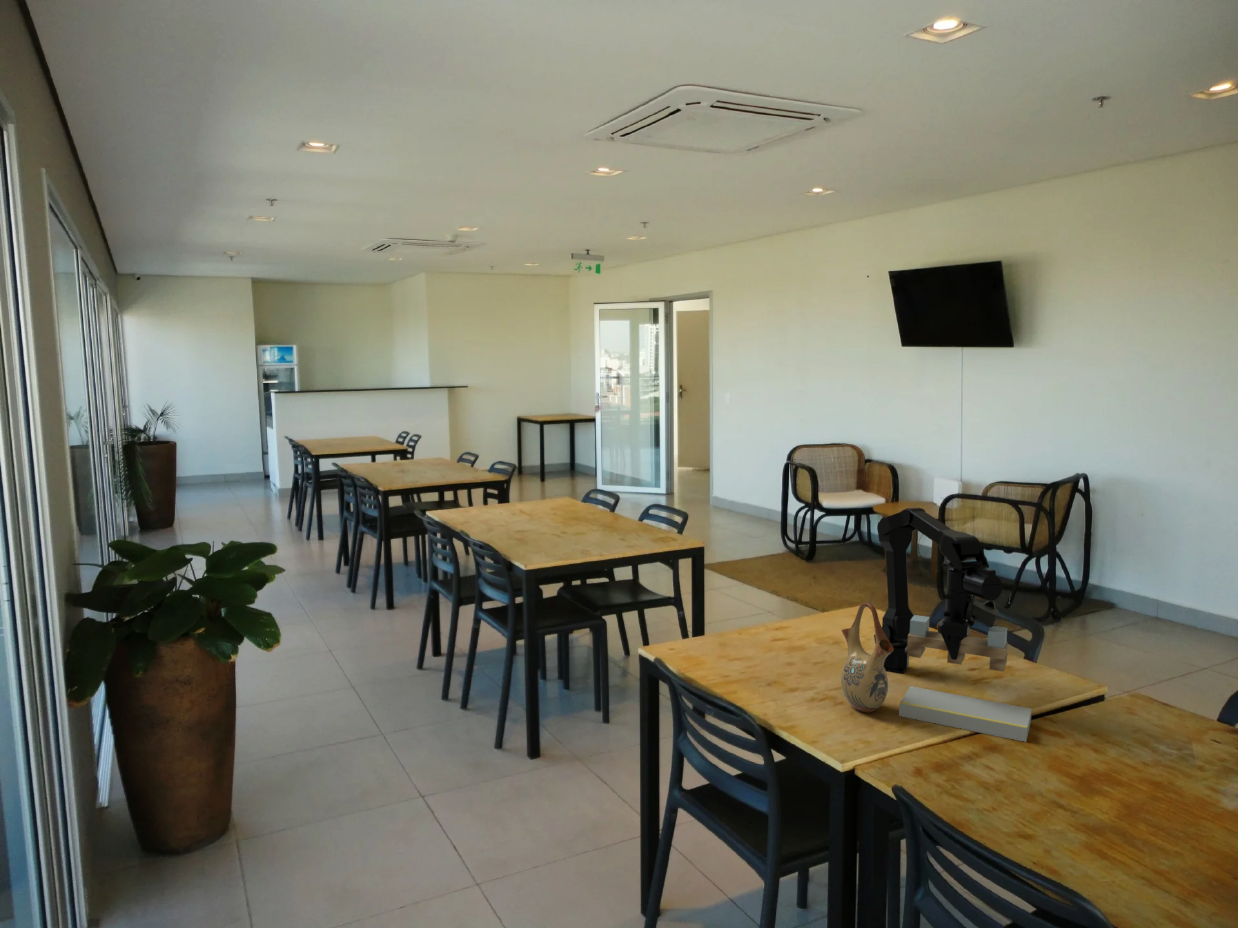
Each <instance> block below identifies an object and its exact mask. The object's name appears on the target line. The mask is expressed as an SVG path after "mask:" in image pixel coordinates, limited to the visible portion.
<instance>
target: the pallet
mask: <svg viewBox="0 0 1238 928" xmlns="http://www.w3.org/2000/svg"><path fill="white" fill-rule="evenodd" d="M987 644H988V638H983V637H981V638H980V637H977V636H976V637H975V636H969V635H968V636H967V637H966V638H964V639H962V641H961V645H960V649H959V653H958V657H957V660H953V659H951V656H950V654H949V651H948V649H947V646H946V644H945V642H944V639H943V637H942V635H941V634H940V633H938V631H935V630H929V632H928V633H927V635H926V636H925V637H922V636H915V635H910V633H909V634H908V644H907V656H909V657H910V658H911V657H912V658H918V659H921V657H922V656H923V655H924V654H925V651H926V648H929V649H934V650H942V651H947V659H946V660H947V661H946V662H947V663H949V664H955V665H961V666H962V664H963V661H964V659H965V658H966V654H967V655H974V656H980V657H985V658H986V657H987V658H989V667H988V668H989V670H991V671H999V672H1005V669H1006V665H1007V663H1008V661H1007V660H1008V647H1009V646H1008V644H1009V642H1008V641H1006V645H1005V648H1004V649H1001V648H995V647H988V646H987Z"/></svg>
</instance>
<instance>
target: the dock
mask: <svg viewBox="0 0 1238 928" xmlns="http://www.w3.org/2000/svg"><path fill="white" fill-rule="evenodd" d="M1032 709H1033V708H1030V707H1024V706H1020V705H1019V706H1018V705H1012V704H1007V703H1003V702H1002V703H1001V702H996V701H992V700H987V699H982V698H981V699H980V698H975V697H970V696H966V695H965V696H964V695H960V694H955V693H949V692H943V691H938V690H932V689H927V688H922V687H917V686H909V688H908V689H907V691H906V692H905V694H904V695H903V697H902V699H901V700H900V702H899V711H898V717H901V716H902V717H903V718H908V719H911V720H912V719H913V720H916V719H917V720H918V721H920V722H925V723H926V722H927V723H932V724H935V723H936V725H941V726H946V727H950V728H954V729H955V728H956V729H960V728H961V730H966V731H970V732H976V733H979V734H980V733H981V734H985V735H990V736H995V737H998V738H1005V739H1008V740H1009V739H1010V740H1013V739H1014V741H1018V742H1023V741H1024V743H1027V739H1028V735H1029V731H1030V727H1031V723H1032V712H1033V711H1032ZM917 720H916V721H917Z"/></svg>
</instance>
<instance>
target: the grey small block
mask: <svg viewBox="0 0 1238 928" xmlns="http://www.w3.org/2000/svg"><path fill="white" fill-rule="evenodd" d="M913 615H914V616H913V617H912V619H911V620H910V635H915V636H922V637H925V636H926V635H927V633H928V632H929V631H930V616H924V615H917V614H913Z"/></svg>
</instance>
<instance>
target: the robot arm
mask: <svg viewBox="0 0 1238 928" xmlns="http://www.w3.org/2000/svg"><path fill="white" fill-rule="evenodd" d="M876 528H877V529H876V531H877V534H878V535H877V536H878V541H879V543H880V545H881V546H882V548H883V549H884V550H885V559H886V579H887V581H886V583H887V603H888V604H887V605H888V607H887V609H886V611H885V613H884V614H883V616H882V621H881V627H882V629H883V631H884V633H885V635H886V637H887V638H888V640H889V642H890V643H891V645H892V646H893V648H894V650H893V652H891V653H890V654H889V655H888V656H887V657H886V659H885V661H884V668H885V671H886V672H894V673H899V674H904V673H905V671H906V670H907V669H908V668H909V665H910V656H907V644H908V634H909V633H910V620H911V619H912V617H913V616H914V615H915V614H914V613H913V612H912V610H911V609H910V606H909V586H908V584H909V583H908V581H909V580H908V564H907V563H908V562H907V551H908V548H909V547H910V545H911V543H912V541H913V534H914V533H913V532H915V531H917V532H919V533H921V534H922V535H924V536H925V537H926V538H928V539H929V540H931V541H932V542H934V543H935V544H936V545H937V546H938V547H939V552H940V553H941V554H942V555H943V557H945V558H946V560H945V561H944V562H943V563H941V566H942V567H943V568H946V569H947V578H946V579H947V580H946V593H945V594H944V599H945V610H944V612H943V617H944V618H942V619H941V620H940V621H939V623H938V624H937V632H938V633H940V634H941V635H942V637H943V639H944V642H945V644H946V646H947V649H948V651H949V654H950V656H951V659H953V660H957V657H958V653H959V649H960V645H961V641H962V639H964V638H966V637H967V636H969V635H970V628H971V627H973V626H974V625H975V623H976V621H977V622H980V623H983V625H985V626H986V627H989V628H990V627H993V626H994V625H995V623H996V621H997V619H998V617H999V614H1000V611H999V609H997V608H996V601H995V600H997V599H998V598H999V597H1000V596H1001V595H1002V592H1003V588H1004V587H1003V586H1004V585H1003V583H1002V580H1001V579H1000V577H998V576H997V575H996V574H997V571H996V569H992V568H990V565H989V562H988V559H987V557H986V555H985V553H984V550H983V548H982V546H981V544H980V540H979V538H977V537H976V536H974V535H972V534H969V533H967V532H963V531H958V530H954V529H952V528H950V527H949V526H947V525H946V524H945V523H943V522H941V520H938V519H937V518H936V517H934V516H933V515H931V514H929V513H928V512H926V510H925V509H924V508H922V507H907V508H905V509H903V510H901V511H899V512H897V513H893V514H892V515H889V516H884V517H882V518H880V520H879V521H878V523H877V526H876ZM976 598H980V599H983V600H986V601H985V602H984V601H983V602H982V601H981V602H980V601H978V600H976ZM975 620H976V621H975ZM873 638H874V639H873V640H874V644H875V645H876V637H875V634H874V635H873ZM948 651H947V652H948Z"/></svg>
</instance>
